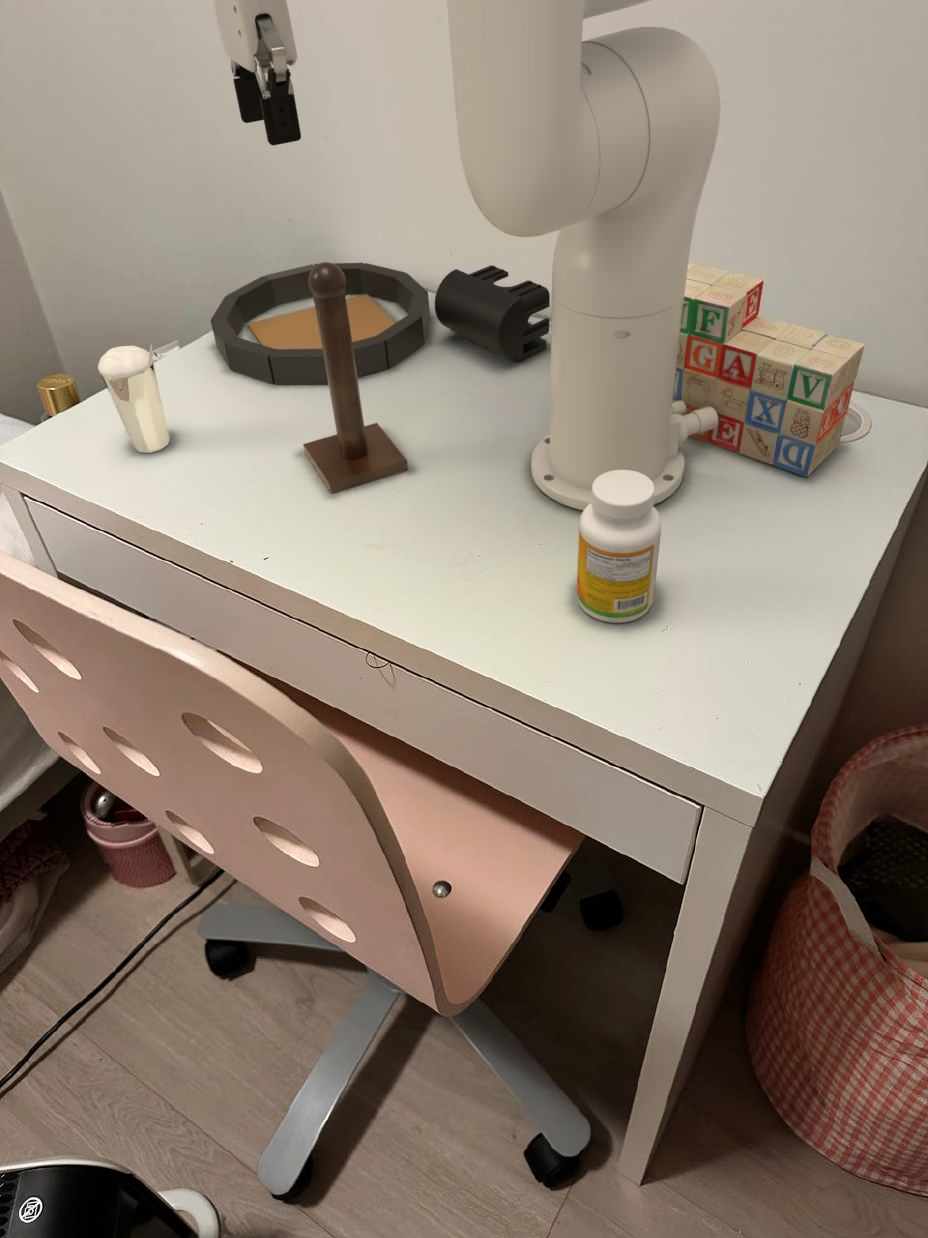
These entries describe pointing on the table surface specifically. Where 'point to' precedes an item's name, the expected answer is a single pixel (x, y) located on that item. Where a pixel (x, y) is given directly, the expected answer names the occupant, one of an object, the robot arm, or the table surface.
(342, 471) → the headphone stand
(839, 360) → the stack of blocks
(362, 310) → the desk pad
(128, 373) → the milkshake
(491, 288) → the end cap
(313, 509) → the table surface
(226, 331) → the ring
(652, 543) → the supplement bottle
